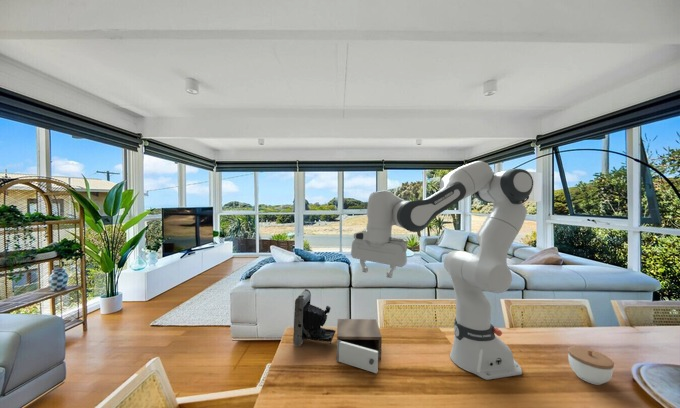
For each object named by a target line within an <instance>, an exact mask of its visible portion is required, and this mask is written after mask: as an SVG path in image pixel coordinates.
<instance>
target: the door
mask: <svg viewBox="0 0 680 408" xmlns="http://www.w3.org/2000/svg"><path fill="white" fill-rule="evenodd" d="M336 343H337V344H336V362H337V363H342V364H345V365H347V366H352V367H355V368H358V369H361V370H365V371H367V372H371V373H374V374H378V372H379V369H378V368H379V360H378V351H376V350H372V349H369V348H365V347H362V346H358V345H354V344H351V343H347V342H344V341H341V340H336Z"/></svg>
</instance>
